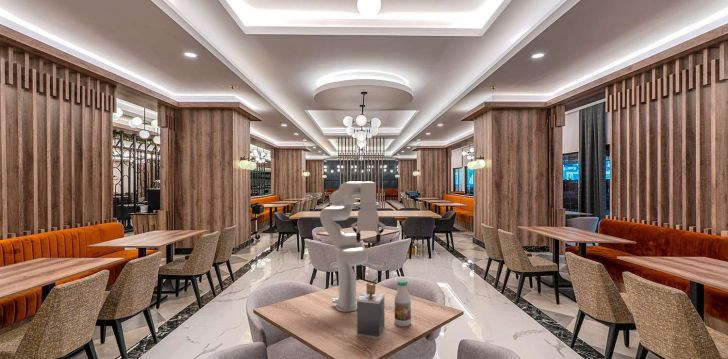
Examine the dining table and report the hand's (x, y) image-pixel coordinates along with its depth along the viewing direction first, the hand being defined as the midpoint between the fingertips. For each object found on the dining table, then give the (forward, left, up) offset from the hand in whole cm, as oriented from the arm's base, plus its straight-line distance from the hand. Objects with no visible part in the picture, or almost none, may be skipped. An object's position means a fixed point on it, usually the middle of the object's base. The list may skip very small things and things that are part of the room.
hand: (368, 242), depth 151 cm
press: (+4, -9, -38) cm, 40 cm away
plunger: (+4, -10, -37) cm, 38 cm away
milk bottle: (+16, +3, -38) cm, 42 cm away
